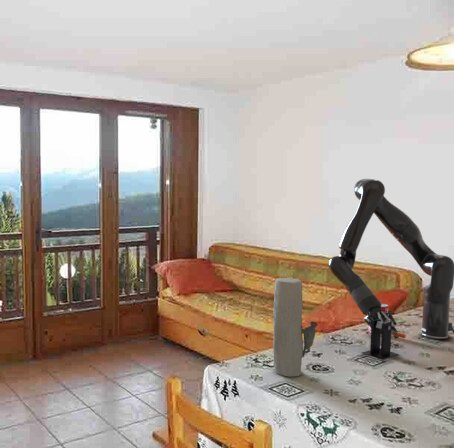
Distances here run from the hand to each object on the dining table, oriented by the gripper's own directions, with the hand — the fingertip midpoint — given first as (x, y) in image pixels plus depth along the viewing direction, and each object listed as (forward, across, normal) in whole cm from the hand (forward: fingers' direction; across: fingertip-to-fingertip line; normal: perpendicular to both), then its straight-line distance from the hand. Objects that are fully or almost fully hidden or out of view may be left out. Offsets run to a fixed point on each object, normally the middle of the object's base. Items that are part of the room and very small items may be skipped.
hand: (393, 338), depth 181 cm
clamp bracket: (+4, -9, +3) cm, 10 cm away
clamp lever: (-2, -5, -3) cm, 6 cm away
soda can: (-6, +13, +14) cm, 20 cm away
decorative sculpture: (+1, -48, +7) cm, 49 cm away
